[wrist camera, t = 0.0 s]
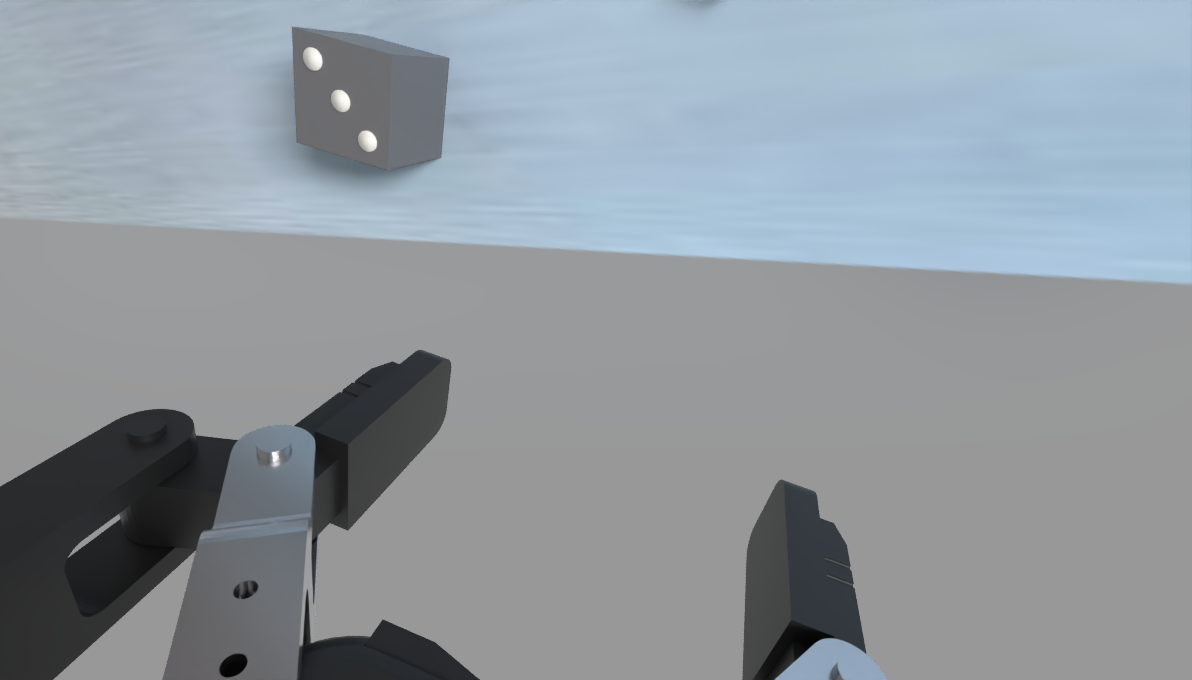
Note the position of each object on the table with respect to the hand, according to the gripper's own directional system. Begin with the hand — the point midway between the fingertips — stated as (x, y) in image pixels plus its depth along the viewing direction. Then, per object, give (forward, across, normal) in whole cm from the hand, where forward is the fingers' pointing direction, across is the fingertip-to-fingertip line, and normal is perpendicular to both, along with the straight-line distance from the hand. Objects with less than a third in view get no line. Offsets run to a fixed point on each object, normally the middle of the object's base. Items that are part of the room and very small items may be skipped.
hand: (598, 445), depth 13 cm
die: (+29, +24, -1) cm, 38 cm away
